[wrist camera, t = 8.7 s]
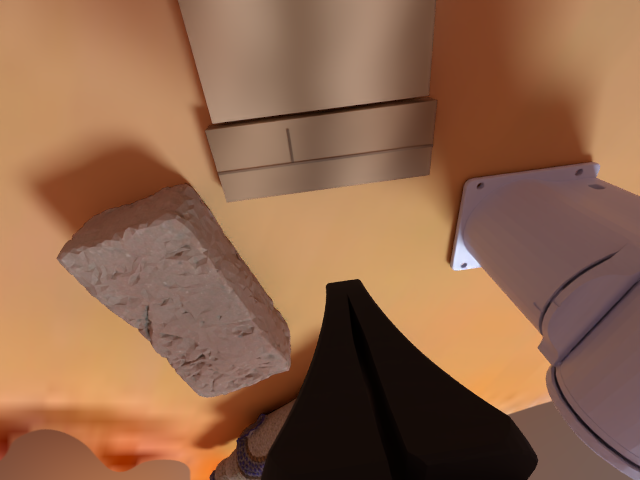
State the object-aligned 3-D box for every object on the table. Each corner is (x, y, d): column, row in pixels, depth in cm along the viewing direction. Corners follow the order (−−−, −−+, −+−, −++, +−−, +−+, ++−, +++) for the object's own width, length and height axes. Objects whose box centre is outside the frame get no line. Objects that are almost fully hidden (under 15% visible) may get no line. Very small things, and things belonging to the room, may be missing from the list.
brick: (82, 220, 20) (33, 262, 16) (191, 174, 19) (167, 207, 15) (215, 355, 29) (204, 403, 25) (294, 328, 28) (295, 374, 24)
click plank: (431, -73, 14) (443, -84, 13) (420, 93, 18) (429, 95, 16) (172, -43, 14) (163, -52, 13) (216, 119, 17) (212, 123, 16)
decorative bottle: (352, 343, 30) (368, 412, 24) (392, 372, 33) (414, 438, 28) (190, 442, 37) (174, 512, 32) (237, 457, 41) (230, 522, 35)
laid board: (428, 97, 18) (437, 100, 17) (422, 168, 20) (429, 175, 19) (209, 125, 17) (204, 130, 16) (229, 194, 20) (226, 202, 19)
